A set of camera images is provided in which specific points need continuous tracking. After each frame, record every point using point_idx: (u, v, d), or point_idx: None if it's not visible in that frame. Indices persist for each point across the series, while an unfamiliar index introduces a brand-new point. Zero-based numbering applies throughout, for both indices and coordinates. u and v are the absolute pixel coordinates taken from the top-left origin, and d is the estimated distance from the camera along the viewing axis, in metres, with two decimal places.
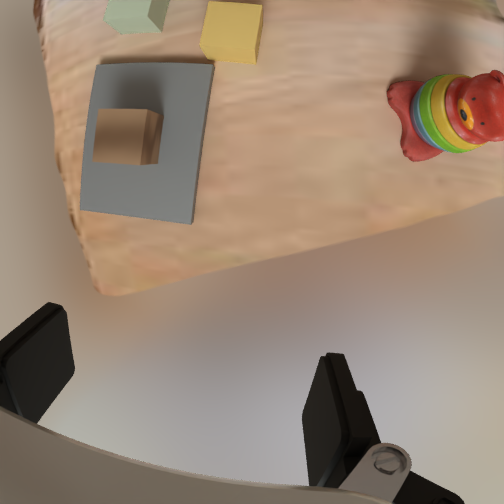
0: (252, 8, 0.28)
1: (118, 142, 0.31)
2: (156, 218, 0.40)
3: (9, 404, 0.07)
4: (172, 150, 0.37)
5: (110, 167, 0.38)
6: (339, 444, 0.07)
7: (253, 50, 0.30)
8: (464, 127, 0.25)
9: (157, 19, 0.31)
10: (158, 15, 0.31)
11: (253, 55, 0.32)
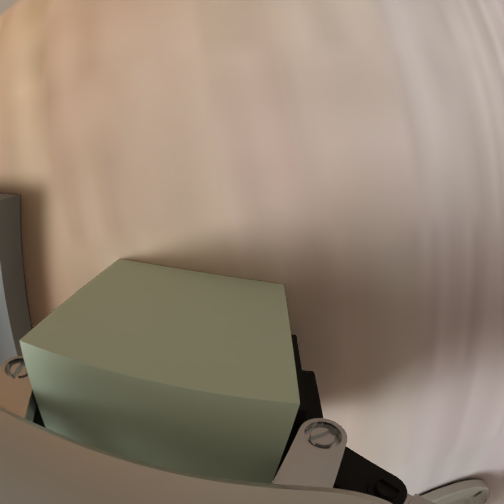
0: None
1: None
2: None
3: None
4: None
5: None
6: None
7: None
8: None
9: None
10: None
11: None
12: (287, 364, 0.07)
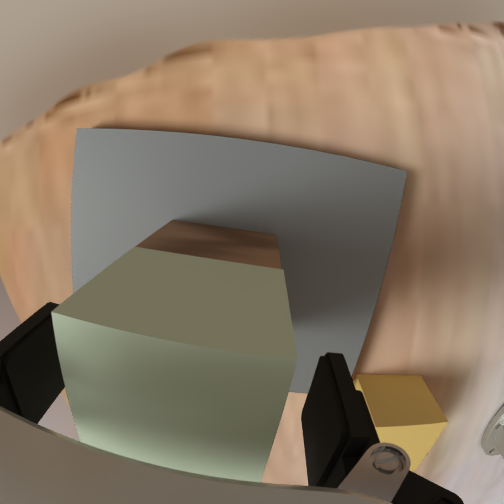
0: (411, 466, 0.18)
1: None
2: None
3: (10, 404, 0.07)
4: None
5: (157, 208, 0.18)
6: (338, 443, 0.07)
7: None
8: None
9: None
10: None
11: None
12: (286, 331, 0.08)
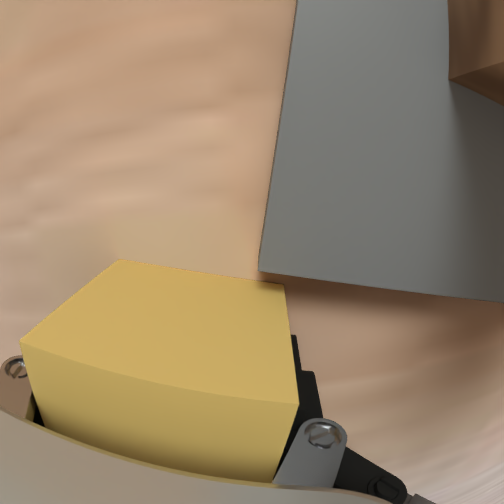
0: None
1: None
2: None
3: None
4: None
5: None
6: None
7: (31, 335, 0.06)
8: None
9: None
10: None
11: (70, 303, 0.08)
12: None
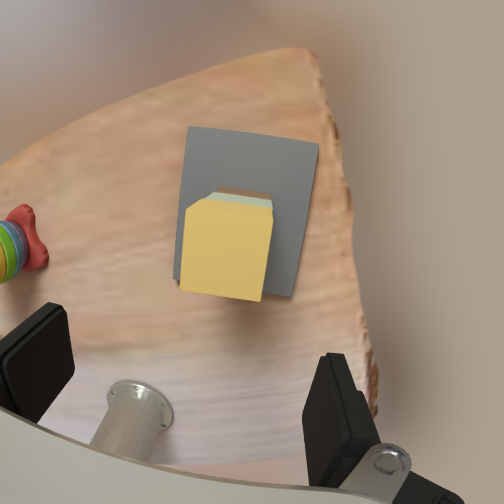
0: (193, 283, 0.23)
1: None
2: (224, 131, 0.37)
3: (9, 404, 0.07)
4: None
5: (275, 186, 0.39)
6: (339, 444, 0.07)
7: (188, 208, 0.22)
8: None
9: None
10: None
11: (195, 204, 0.24)
12: None
